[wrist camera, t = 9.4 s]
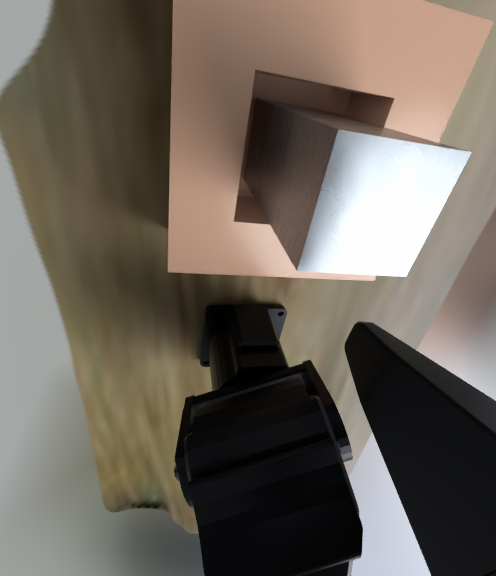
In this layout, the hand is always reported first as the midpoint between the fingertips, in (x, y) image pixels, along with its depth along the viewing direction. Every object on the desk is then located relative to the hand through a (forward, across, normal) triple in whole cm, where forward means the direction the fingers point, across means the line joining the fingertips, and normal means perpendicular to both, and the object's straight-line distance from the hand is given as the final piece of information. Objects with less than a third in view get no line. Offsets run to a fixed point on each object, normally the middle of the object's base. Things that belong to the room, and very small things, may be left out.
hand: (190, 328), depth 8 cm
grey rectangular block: (+12, -5, -3) cm, 13 cm away
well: (+13, -5, -3) cm, 14 cm away
